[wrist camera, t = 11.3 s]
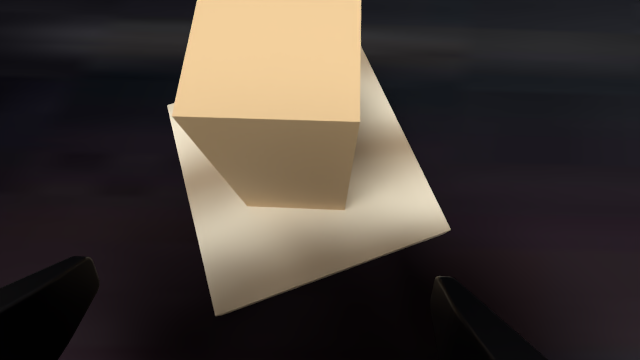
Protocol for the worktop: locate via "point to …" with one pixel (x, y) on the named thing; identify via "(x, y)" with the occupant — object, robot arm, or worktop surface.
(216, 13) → the ochre block
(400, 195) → the birch board
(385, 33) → the worktop surface
